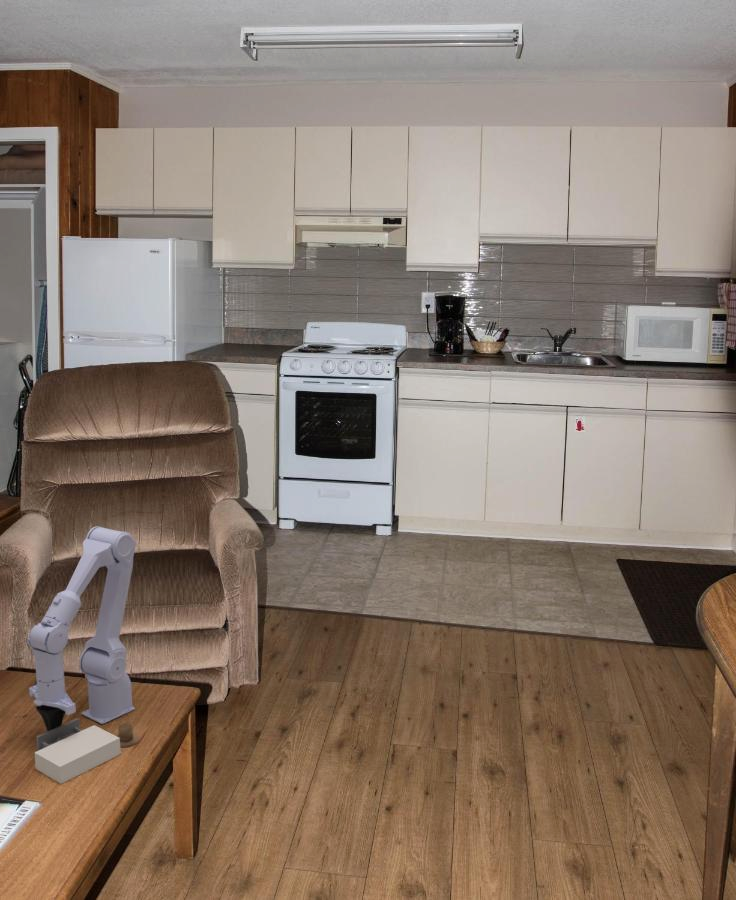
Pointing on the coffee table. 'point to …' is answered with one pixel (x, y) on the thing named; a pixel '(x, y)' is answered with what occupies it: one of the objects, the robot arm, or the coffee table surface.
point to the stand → (127, 736)
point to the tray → (57, 733)
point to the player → (77, 754)
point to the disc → (64, 736)
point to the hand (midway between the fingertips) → (54, 734)
